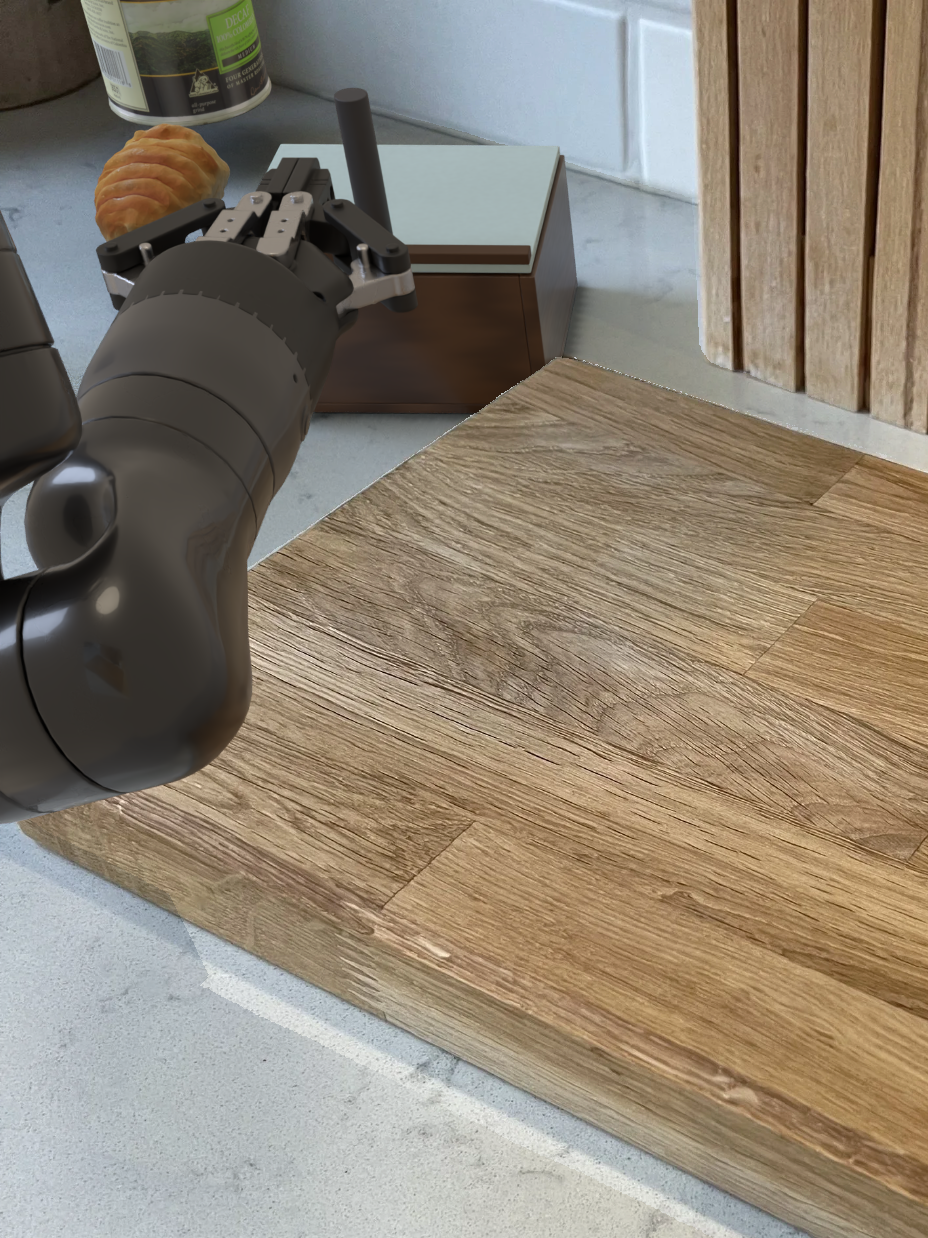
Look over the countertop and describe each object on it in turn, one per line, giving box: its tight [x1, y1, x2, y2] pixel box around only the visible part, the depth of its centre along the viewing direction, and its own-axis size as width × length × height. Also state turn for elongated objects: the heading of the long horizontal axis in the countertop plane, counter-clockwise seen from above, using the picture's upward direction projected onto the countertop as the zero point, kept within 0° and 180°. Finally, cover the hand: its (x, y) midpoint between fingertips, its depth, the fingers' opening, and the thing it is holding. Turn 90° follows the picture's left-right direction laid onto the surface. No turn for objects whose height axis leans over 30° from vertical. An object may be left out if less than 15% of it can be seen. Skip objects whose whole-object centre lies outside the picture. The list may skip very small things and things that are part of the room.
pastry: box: [93, 124, 231, 242], centre depth 100 cm, size 9×7×4 cm
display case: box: [313, 154, 578, 414], centre depth 96 cm, size 16×14×8 cm
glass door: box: [266, 87, 561, 273], centre depth 90 cm, size 16×14×8 cm
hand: (305, 178), depth 76 cm, fingers closed
